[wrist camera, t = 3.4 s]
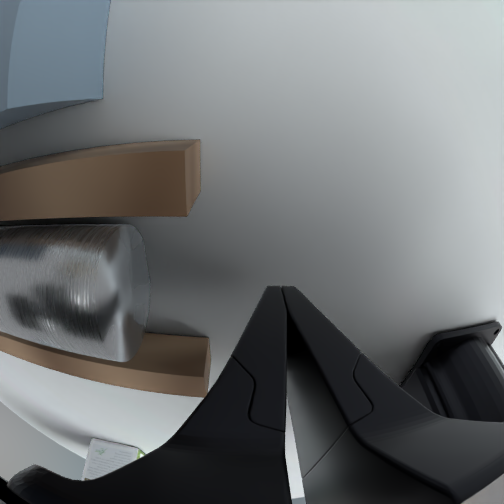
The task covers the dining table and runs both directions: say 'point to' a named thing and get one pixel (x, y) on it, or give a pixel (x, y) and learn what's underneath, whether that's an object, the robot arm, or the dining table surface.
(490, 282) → the dining table surface
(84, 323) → the axle
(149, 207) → the guide channel
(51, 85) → the v block
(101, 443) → the syrup box
